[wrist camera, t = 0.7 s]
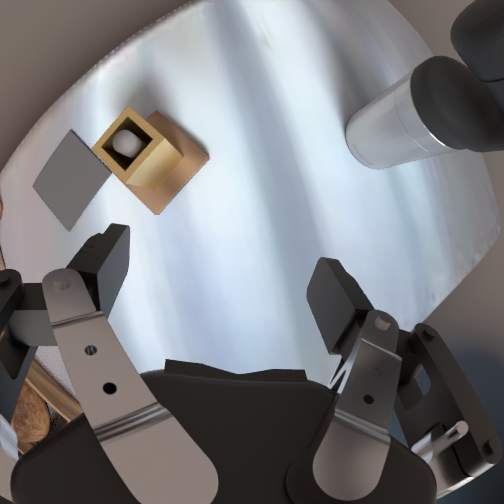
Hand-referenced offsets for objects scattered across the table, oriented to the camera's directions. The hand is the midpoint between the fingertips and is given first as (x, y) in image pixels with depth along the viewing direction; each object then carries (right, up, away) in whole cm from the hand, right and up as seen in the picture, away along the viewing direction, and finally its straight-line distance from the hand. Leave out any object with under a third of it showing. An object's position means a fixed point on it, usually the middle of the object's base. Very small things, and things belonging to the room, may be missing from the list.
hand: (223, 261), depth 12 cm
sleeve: (-11, +12, +22) cm, 27 cm away
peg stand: (-11, +12, +24) cm, 29 cm away
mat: (-26, +11, +23) cm, 37 cm away
